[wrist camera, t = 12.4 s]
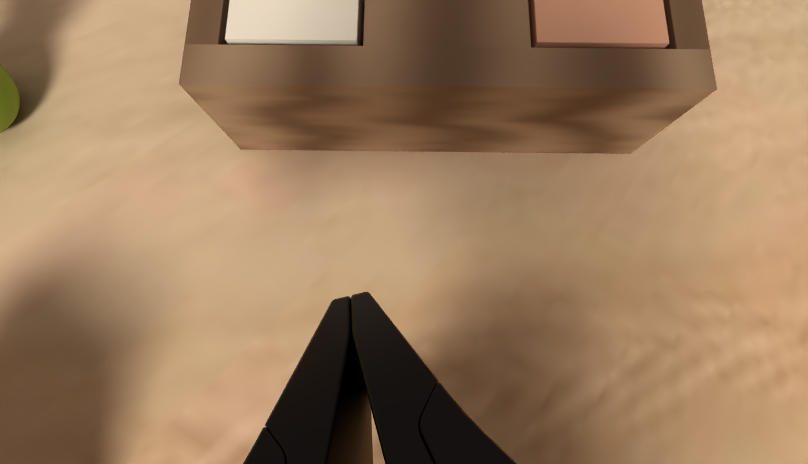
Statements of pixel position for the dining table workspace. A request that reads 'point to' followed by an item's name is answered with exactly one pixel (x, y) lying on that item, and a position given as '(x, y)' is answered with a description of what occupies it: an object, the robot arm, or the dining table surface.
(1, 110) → the snail figurine
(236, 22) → the white box
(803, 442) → the dining table surface
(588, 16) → the salmon pink block
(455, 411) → the robot arm
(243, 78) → the brown striped box
